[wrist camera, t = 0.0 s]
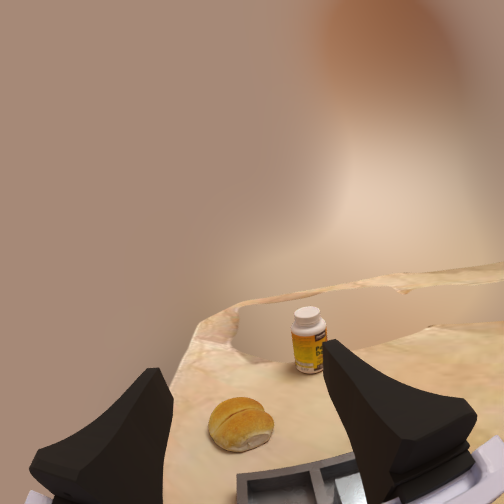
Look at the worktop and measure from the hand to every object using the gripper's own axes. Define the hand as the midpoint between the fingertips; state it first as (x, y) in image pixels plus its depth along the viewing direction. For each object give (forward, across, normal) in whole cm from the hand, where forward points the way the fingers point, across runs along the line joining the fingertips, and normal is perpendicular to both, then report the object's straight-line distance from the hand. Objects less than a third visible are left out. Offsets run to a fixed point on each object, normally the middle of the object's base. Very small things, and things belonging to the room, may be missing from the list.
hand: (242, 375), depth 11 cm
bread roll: (+15, +4, +24) cm, 28 cm away
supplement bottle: (+27, -8, +24) cm, 37 cm away
